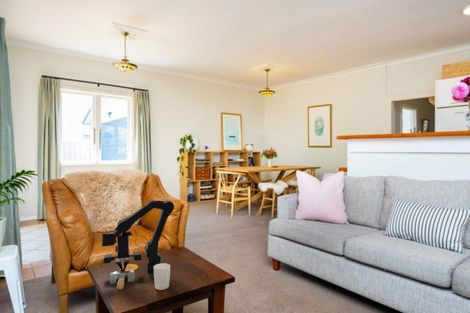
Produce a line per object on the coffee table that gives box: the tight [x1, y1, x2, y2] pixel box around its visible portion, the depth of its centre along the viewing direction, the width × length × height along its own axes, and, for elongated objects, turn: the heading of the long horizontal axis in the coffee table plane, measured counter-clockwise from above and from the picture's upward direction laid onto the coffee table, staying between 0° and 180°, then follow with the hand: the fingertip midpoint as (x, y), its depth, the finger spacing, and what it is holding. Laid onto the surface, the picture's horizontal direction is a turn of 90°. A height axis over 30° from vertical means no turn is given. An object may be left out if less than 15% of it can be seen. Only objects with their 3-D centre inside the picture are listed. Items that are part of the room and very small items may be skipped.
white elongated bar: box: [116, 271, 126, 291], centre depth 150 cm, size 16×3×3 cm, turn 16°
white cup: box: [153, 262, 171, 291], centre depth 146 cm, size 8×8×10 cm
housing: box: [109, 269, 135, 285], centre depth 154 cm, size 11×6×5 cm, turn 106°
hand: (123, 273), depth 159 cm, fingers closed, pressing on white elongated bar
